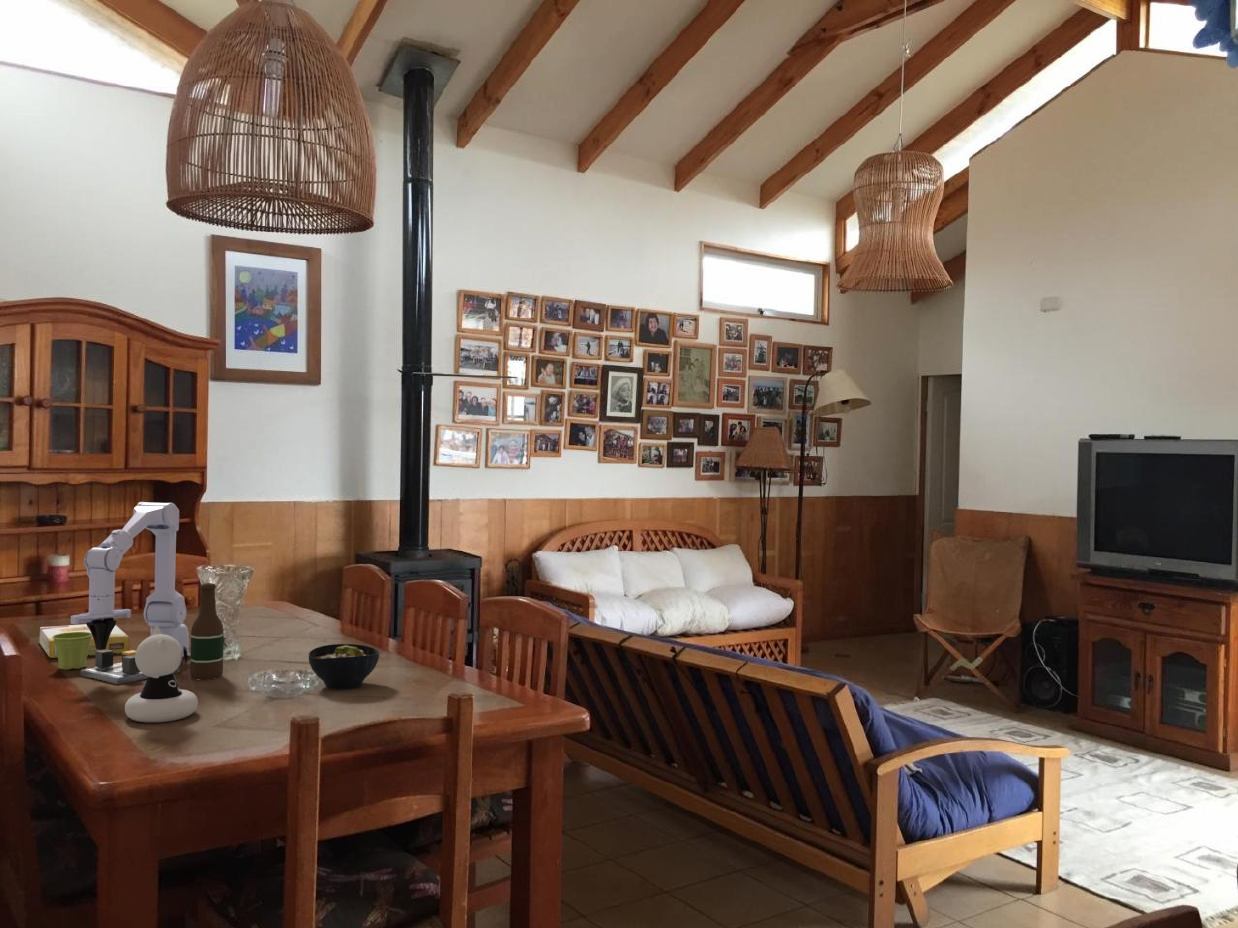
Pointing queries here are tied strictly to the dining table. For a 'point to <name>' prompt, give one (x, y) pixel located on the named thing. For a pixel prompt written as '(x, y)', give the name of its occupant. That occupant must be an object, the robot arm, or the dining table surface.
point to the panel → (114, 669)
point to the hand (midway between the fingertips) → (100, 649)
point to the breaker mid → (127, 654)
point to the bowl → (343, 664)
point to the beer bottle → (207, 638)
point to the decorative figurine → (160, 682)
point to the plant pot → (72, 649)
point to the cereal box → (115, 642)
